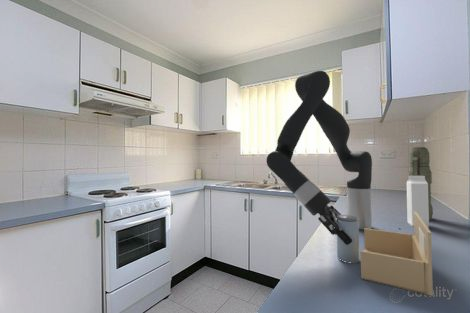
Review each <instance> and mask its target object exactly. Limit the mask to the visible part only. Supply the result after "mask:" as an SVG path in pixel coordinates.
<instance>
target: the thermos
mask: <svg viewBox="0 0 470 313" xmlns="http://www.w3.org/2000/svg"><path fill="white" fill-rule="evenodd" d="M407 173H408V177H409V176H425V180H426V182H427V183H428V205H429V221H433V214H434V213H433V212H434V210H433V209H434V208H433V205H432V192H431V190H432V187H431V185H432V183H433V181H432V180H433V179H432V178H433V176H432V174H433V173H432V170H431V167H430V152H429V149H428V147H423V146H422V147H421V146H420V147H412V148H411V149H410V151H409V170H408V172H407Z"/></svg>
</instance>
